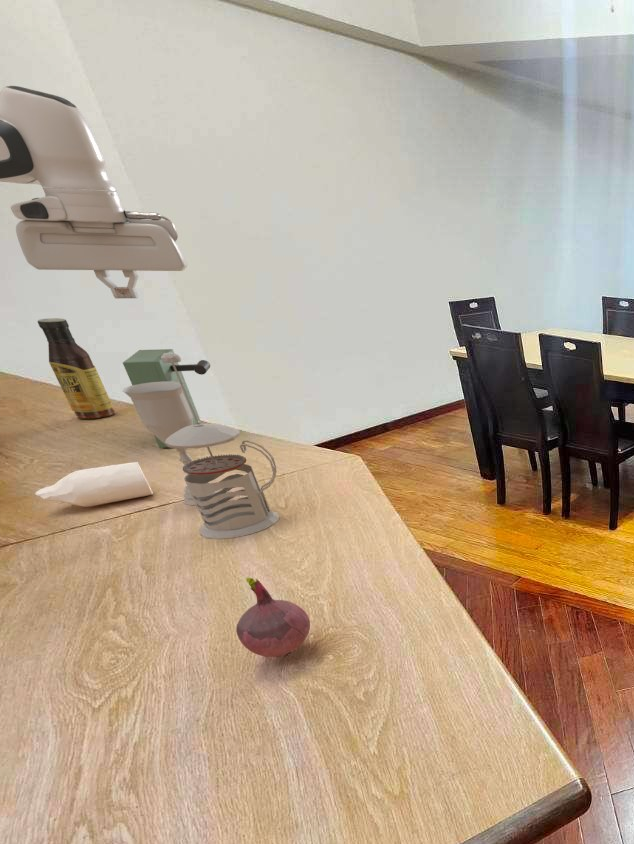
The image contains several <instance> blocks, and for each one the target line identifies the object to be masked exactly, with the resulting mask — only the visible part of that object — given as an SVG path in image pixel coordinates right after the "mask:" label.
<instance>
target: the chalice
mask: <svg viewBox="0 0 634 844" xmlns="http://www.w3.org/2000/svg"><path fill="white" fill-rule="evenodd" d="M182 384H183V383H182ZM183 386H184V384H183ZM122 392H123V393H124V394H125V395H126V396H128V397H129V398H130V399H131V402H132V404H133V406H134V408H135V410H136V412H137V414H138V416H139V419H140V421H141V423H142V424H143V425H144V426H145V428H147V430H149V432H150V433H151V434H152V435H153V436H154V435H155V436H156V437H157V438H158V439H160V440H161V441H162V442H163V443H164V444H165V445H167V446H168V447H167V448H170V449H174V448H173V447H171V446H169V445H168V444H166V443H165V442H166V439H167V438H168V437H169V436H171V435H172V434H174V433H175V432H177V431H178V430H180V429H182V428H184V427H186V426H191V425H193V415H192V413H191V411H190V408H189V406H188V404H187V401H186V399H185V396H184V394H183V389H182V387H181V384H180V382H151V383H143V384H137V385H133V386H132V385H129V386H127V387H125V388H122ZM155 436H154V437H155ZM175 449H176V450H177V452H178V453H179V462H181V463H182V464H183V466H185V465H186V464H187V463H188V462H190V463H191V462H192V461H193V457H191V456H190V455H189V453H188V452H187V449H181V448H175ZM183 473H185V474H186V475H188V474H189V473H187V472H185V471H183ZM219 491H220V490H218V491H215V492H213V493H211V494H209V495H207V496H210V495H213V494H215V493H217V492H219ZM183 492H184V494H183V502H182V503H183V504H184V505H187V506H196V504H195V501H194V499H193V497H192V495H191V493H190V490H189V488H188V486H187V485H186V486H185V488H184V489H183Z"/></svg>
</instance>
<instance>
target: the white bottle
mask: <svg viewBox="0 0 634 844" xmlns="http://www.w3.org/2000/svg"><path fill="white" fill-rule="evenodd" d="M34 495H35V496H36V497H39V498H41V499H42V500H44V501H50V502H58V503H61V504H68V505H71V506H72V505H73V506H77V507H84V508H88V507H89V508H90V507H96V506H100V505H106V504H111V503H116V502H121V501H127V500H132V499H136V498H141V497H142V498H143V497H146V496H152V495H154V492H153V490H152V488H151V486H150V483H149V481H148V479H147V478H146V476H145V474H144V472H143V470H142V468H141V466H140V463H139V462H138V461H134V462H128V463H127V462H126V463H117V464H111V465H105V466H97V467H91V468H90V467H89V468H84V469H78V470H75V471H73V472H70V473H69V474H67V475H65V476H63V477H62V478H61V479H59V480H58V481H57V482H55V484H53V485H47V486H45V487H42V488H40V489H38V490H37V491H36V492H35V493H34Z"/></svg>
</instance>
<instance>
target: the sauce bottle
mask: <svg viewBox="0 0 634 844" xmlns="http://www.w3.org/2000/svg"><path fill="white" fill-rule="evenodd" d="M37 324H38V327H39V328H40V329H41V330H42V332H43V334H44V336H45V338H46V341H47V343H48V346H47V347H48V363H49V365H50V367H51V370H52V371H53V373H54V376H55V378H56V380H57V382H58V384H59V385H60V388H61V390H62V392H63V394H64V396H65V399H66V400H67V402H68V404H69V406H70V408H71V410H72V411H73V412H74V414H75V416H76V417H77V418H78V419H82V420H85V419H86V420H95V419H96V420H97V419H101V418H102V419H103V418H105V417H110V416H113V415H114V414H115V409H114V408H113V403H112V401H111V399H110V397H109V395H108V392H107V390H106V388H105V386H104V384H103V381H102V378H101V377H100V375H99V372H98V370H97V368H96V365H94V363H93V361H92V359H91V356H90V354H89V353H88V352H87V350H85V349H84V348H83V347H81V346H80V345H79V344H78V343H76V340H75V338H74V337H73V334H72V332H71V331H70V325H69V323H68V321H67V319H65V318H57V317H53V318H41V319H38V320H37Z"/></svg>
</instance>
